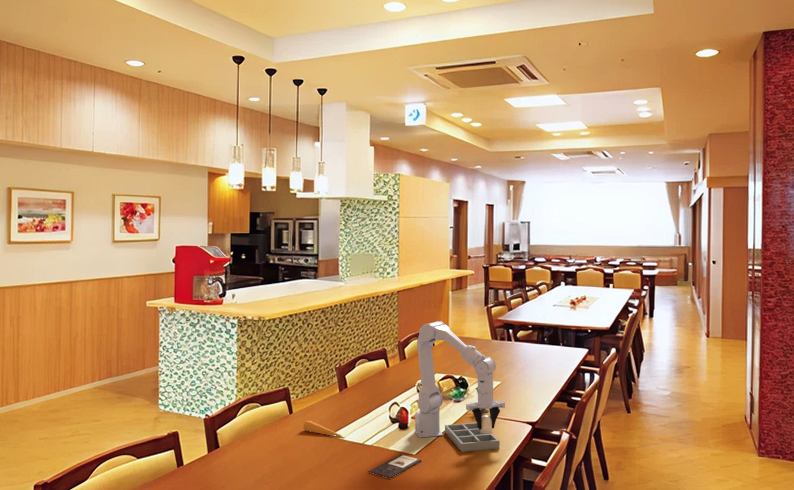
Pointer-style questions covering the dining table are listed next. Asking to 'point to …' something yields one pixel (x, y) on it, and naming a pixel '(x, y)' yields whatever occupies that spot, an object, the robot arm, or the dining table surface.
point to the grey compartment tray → (470, 437)
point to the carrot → (318, 428)
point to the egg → (486, 425)
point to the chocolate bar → (395, 466)
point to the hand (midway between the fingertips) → (485, 428)
